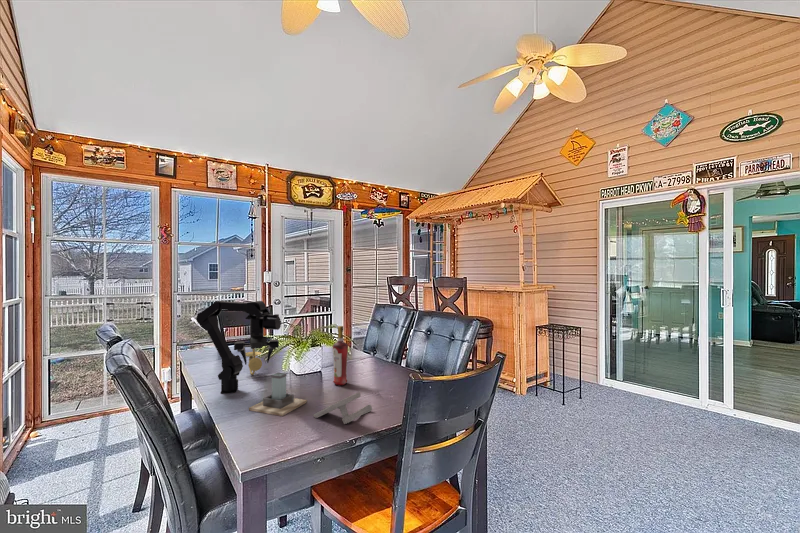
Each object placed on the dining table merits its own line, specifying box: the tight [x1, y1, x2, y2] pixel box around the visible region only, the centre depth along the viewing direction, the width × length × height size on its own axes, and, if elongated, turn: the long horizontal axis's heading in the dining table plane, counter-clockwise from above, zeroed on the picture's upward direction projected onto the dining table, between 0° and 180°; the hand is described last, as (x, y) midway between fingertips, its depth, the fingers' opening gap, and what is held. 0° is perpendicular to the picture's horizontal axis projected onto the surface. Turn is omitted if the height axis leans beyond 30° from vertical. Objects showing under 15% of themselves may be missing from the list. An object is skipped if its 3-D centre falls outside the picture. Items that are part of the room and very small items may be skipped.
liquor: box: [332, 325, 349, 386], centre depth 188 cm, size 7×7×28 cm
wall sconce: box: [246, 348, 263, 376], centre depth 203 cm, size 14×10×25 cm
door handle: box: [312, 391, 373, 425], centre depth 148 cm, size 18×8×20 cm
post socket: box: [248, 392, 308, 417], centre depth 158 cm, size 16×16×4 cm
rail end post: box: [270, 372, 287, 400], centre depth 158 cm, size 4×4×12 cm
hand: (256, 363), depth 175 cm, fingers open, 9 cm apart
